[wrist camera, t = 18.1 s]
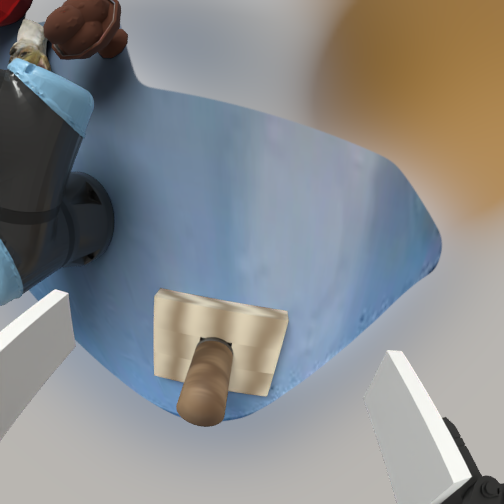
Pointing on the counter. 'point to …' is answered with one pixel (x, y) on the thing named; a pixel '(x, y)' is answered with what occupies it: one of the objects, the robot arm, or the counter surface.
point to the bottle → (13, 10)
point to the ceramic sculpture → (31, 45)
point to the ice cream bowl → (86, 29)
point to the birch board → (221, 326)
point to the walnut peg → (207, 383)
